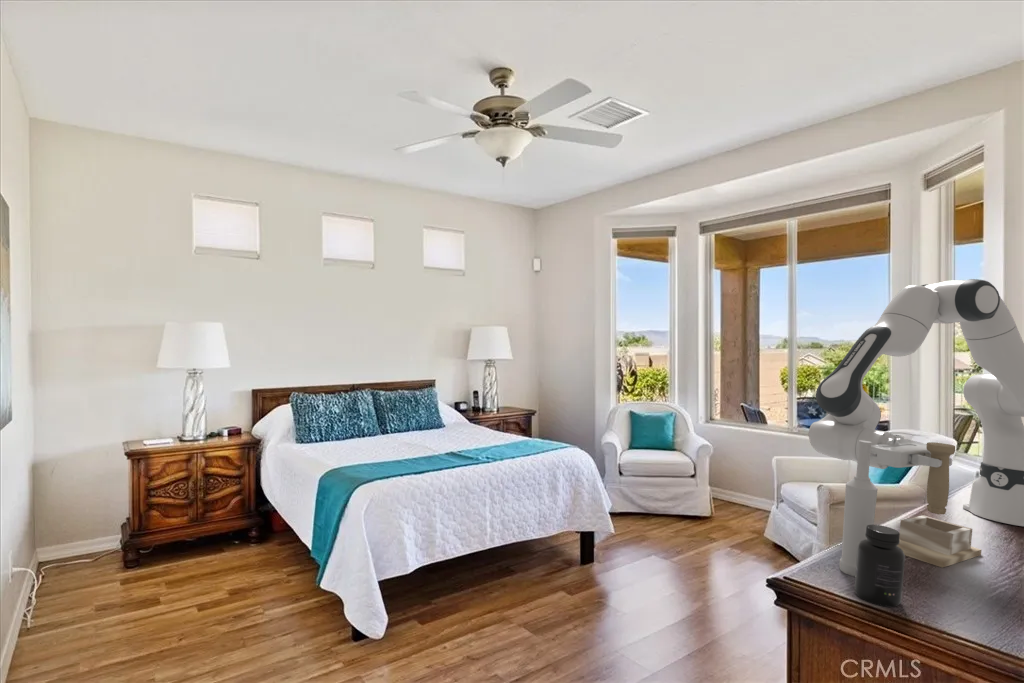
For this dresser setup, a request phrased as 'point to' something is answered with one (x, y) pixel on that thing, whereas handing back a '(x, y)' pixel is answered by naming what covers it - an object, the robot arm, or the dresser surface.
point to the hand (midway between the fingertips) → (945, 463)
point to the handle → (939, 477)
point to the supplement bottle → (880, 567)
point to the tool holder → (936, 541)
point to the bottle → (857, 509)
